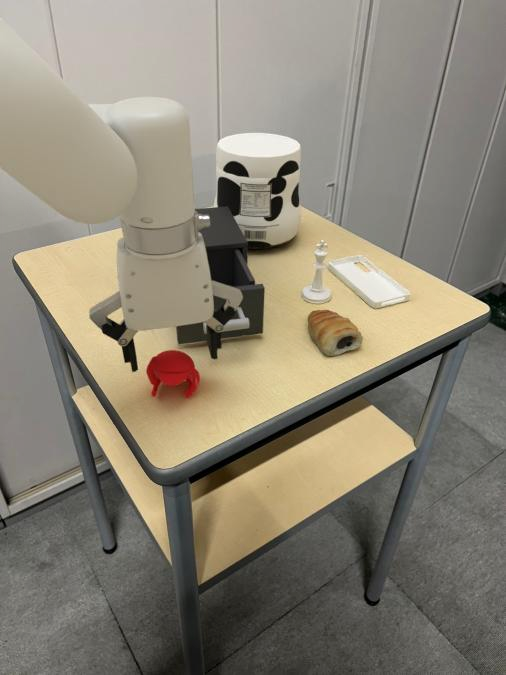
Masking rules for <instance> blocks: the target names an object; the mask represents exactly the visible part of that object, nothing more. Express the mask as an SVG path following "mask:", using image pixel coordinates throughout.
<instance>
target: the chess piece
mask: <svg viewBox="0 0 506 675" xmlns="http://www.w3.org/2000/svg"><path fill="white" fill-rule="evenodd" d="M315 248H316V250H314V257H315V261H316V262H314V263H313V264H312V268H313V269H314V270H315V272H314V276H313V281H312V283H311V284H309V285H306V286H304V287H303V288H302V290H301V294H300V295H301V299H303V300H304V301H306V302H308V303H310V304H315V305H316V304H317V305H320V304H326V303H328V302H329V301H330V300H331V299H332V292H331V290H330V289H329V288H328V287H326V286H325V285H324V284H323V271H324V270H326V269H327V265H326V263H325V260H326V258H327V256H328V252H327V250H325V249H324V248H328V243H325V240H323V239H322V240H321V239H320V243H318V244H317V243H316V244H315Z"/></svg>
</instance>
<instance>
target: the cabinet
mask: <svg viewBox="0 0 506 675" xmlns="http://www.w3.org/2000/svg"><path fill="white" fill-rule="evenodd" d="M195 211H197V213H198V214H202V215H209V218H210V227H206V228H203V229H200V233H201V234H202V237H203V240H204V244H205V248H206V251H211V250H221V249H232V248H239V250H240V252H241V254H242V256H243V258H244V260H245V262H246V264H247V265H248V256H249V255H248V254H249V253H248V249H249V248H248V242H247V240H246V239H245V237H244V235H243V233H242V231H241V229H240V228H239V226H238V224H237V222H236V220H235V218H234V217H233V215H232V213H231V211H230V209H229V208H228V206H226V207H214V208H213V207H203V208H202V207H201V208H195Z"/></svg>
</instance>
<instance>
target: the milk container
mask: <svg viewBox="0 0 506 675" xmlns="http://www.w3.org/2000/svg"><path fill="white" fill-rule="evenodd" d="M215 151H216V152H215V162H216V166H215V176H216V192H215V196H214V201H213V205H212V208H214V207H226V206H228V208H229V209H230V211H231V213H232V215H233V217H234V218H235V220H236V222H237V224H238V226H239V228H240V229H241V231H242V233H243V235H244V237H245V239H246V240H247V242H248V249H269V248H276V247H279V246H282V245H284V244H287V243H289V242H290V241H292V240H293V239H294V238H295V237H296V236H297V234H298V232H299V229H300V226H301V222H302V221H301V220H302V206H301V201H300V192H299V191H300V190H299V186H300V178H301V177H300V176H301V162H302V161H301V160H302V147H301V144H300V143H299V141H298V140H296V139H294V138H292V137H289V136H285V135H281V134H277V133H268V132H245V133H236V134H232V135H227V136H224V137H223V138H221V139H219V140H218V142H217V144H216V150H215Z"/></svg>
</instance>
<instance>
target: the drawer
mask: <svg viewBox="0 0 506 675" xmlns="http://www.w3.org/2000/svg"><path fill="white" fill-rule="evenodd" d="M206 253H207V259H208V264H209V268H210V275H211V280H213V281H216V282H219V283H222V284H225V285H228V286H231V287H234V288H237V289H240V291H241V293H242V295H243V299H242V301H241V303H240V305H239V306H238V308H237V309H236V311H235V315H234V316H233V317H232V318H231V319H230V320H229V321H228V322H227V323H226V324H225V325H224V330H223V331H222V332H221V340H224V339H232V338H238V337H247V336H254V335H260V334H264V318H265V316H264V315H265V292H266V291H265V290H266V289H265V288H266V287H265V285H264V283H256V280H255V277H254V275H253V274H252V272H251V270H250V268H249V266H248V263H247V264H246V262H245V260H244V258H243V256H242V254H241V252H240V250H239V248H232V249H221V250H211V251H206ZM226 300H227V299H223V298H220V297H217V296H214V295H213V302H214V309H215V310H216V311H217V310H218V309H219V308H220V307H221V306H222V305H223V304H224V303H226ZM175 328H176V340H177V344H178V345H186V344H187V345H188V344H194V343H195V344H196V343H202V342H207V329H206V324H205V323H204V322H200V323H195V324H188V325H181V326H175Z"/></svg>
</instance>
